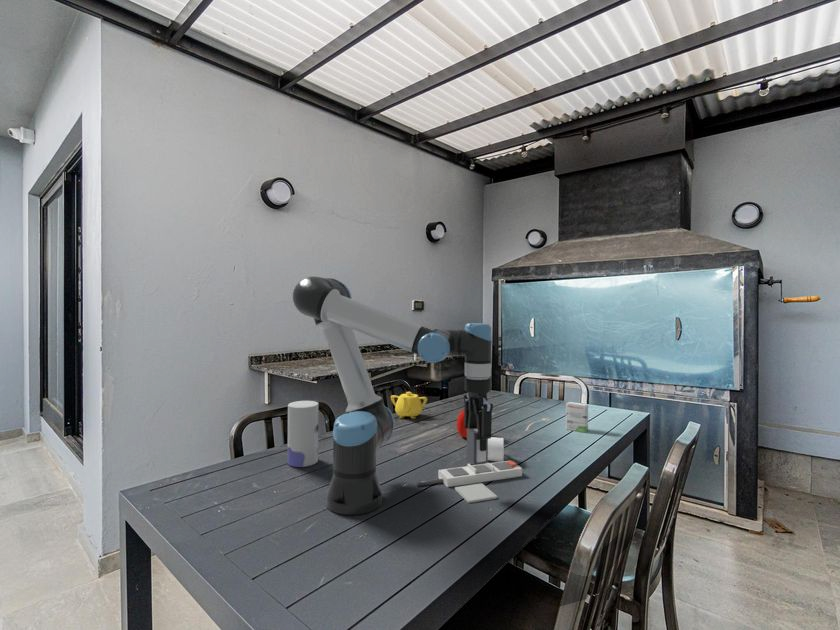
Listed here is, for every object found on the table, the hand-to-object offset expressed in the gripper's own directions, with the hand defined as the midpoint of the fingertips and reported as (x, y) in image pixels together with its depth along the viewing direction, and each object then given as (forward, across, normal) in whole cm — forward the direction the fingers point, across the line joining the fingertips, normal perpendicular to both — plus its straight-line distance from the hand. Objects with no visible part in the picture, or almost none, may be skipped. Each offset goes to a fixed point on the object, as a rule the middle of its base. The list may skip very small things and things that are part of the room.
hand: (476, 458), depth 120 cm
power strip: (+10, +10, -3) cm, 15 cm away
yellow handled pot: (+10, +83, -7) cm, 84 cm away
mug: (+11, +24, -18) cm, 32 cm away
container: (+10, +40, +45) cm, 61 cm away
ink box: (+11, +42, -72) cm, 84 cm away
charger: (+1, 0, 0) cm, 1 cm away
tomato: (+11, +47, -23) cm, 53 cm away
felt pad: (+10, 0, 0) cm, 10 cm away
